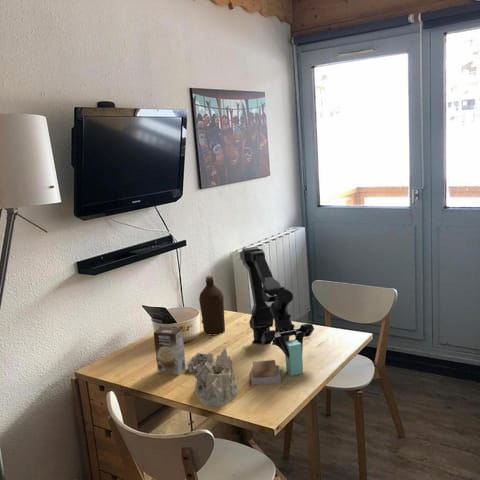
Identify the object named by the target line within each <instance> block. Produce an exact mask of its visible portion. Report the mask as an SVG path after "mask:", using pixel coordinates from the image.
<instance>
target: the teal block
mask: <svg viewBox="0 0 480 480" xmlns="http://www.w3.org/2000/svg"><path fill="white" fill-rule="evenodd" d="M285 343H286V346H287V349H288V352H289V358H288V357H287V356H286V355H285V354H284V355H285V369H286V372H287V373H288V374H289V375H290V377H293V376H296V375H302V374H304V365H303V350H302V346H301V343H300V342H299V341H297V340H295V339H291V340H289V341H286V342H285Z"/></svg>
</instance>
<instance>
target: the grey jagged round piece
mask: <svg viewBox="0 0 480 480" xmlns="http://www.w3.org/2000/svg"><path fill="white" fill-rule="evenodd" d="M207 360H208V361H207V362H206V363H205V364H204V366H203V368H202V369H201V370H200V371H199V372H197V373H196V375H195V379H196V381H195V384H196V385H195V388H194V393H195V395H196V397H197V398H198V399H199V400H200V402H201V404H202V405H204V406H207V407H211V406H212V407H216V408H217V407H223V406H225V405H227V404H228V403H230V402H232V401H233V400H234V399H236V397H237V396H238V393H239V388H238V384H237V382H236V377H235V374H234V372H233V371H234V369H233V361H232V359H231V355H230V356H228V352H227V347H223V350H222V351H221V352H220V354H217V355H216V358H215V360H216V361H215V360H214V354H213V352H212V351H208V352H207ZM214 361H215V362H214Z"/></svg>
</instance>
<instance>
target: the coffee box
mask: <svg viewBox="0 0 480 480" xmlns="http://www.w3.org/2000/svg"><path fill="white" fill-rule="evenodd" d="M153 339H154V348H155V357H156V367H157V374H161V373H163V374H164V375H171V374H173V375H174V376H180V375H181V374H182V373H183V372H184V371H185V368H186V369H187V366H186V357H185V348H184V347H185V346H184V337H183V328H181V327H171V326H170V327H168V326H160V327H159V328H158V329H156V330H155V331H154V332H153Z"/></svg>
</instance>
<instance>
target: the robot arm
mask: <svg viewBox="0 0 480 480" xmlns="http://www.w3.org/2000/svg"><path fill="white" fill-rule="evenodd" d="M265 254H266V253H265V251H264V249H263V248H259V247H258V246H252V247H251V246H250V247H246V248H244V247H243V248H242V249H241V251H240V252H239V258H240V259H241V261H242V264H243V265H242V266H244V267H245V269H247V272H248V278H249V284H250V289H251V294H252V300H253V306H252V308H251V312H250V313H251V317H250V318H249V327H250V328H251V329H252V330H253V331H252V332H253V340H252V341H251V343H252V344H257V345H258V344H260V345H263V346H267V345H272V346H277V347H278V348H279V349H280V350H281V351H282V353H283V354H284V355H286V356H287V357H288V358H289V352H288V349H287V346H286V343H285V342H286V341H290V337H291V336H294V337H295V339H294V340H297V341H299V342H300V343H301V346H302V351H303V343H304V338H306V337H310V336H312V333H313V332H314V330H315V328H314V325H313V324H312V323H311V322H309V323H304V324H301V325H300V327H299V328H295V327H296V326H295V325H294V324H293V322H292V320H291V318H292V317H291V314H290V313H289V312H288V309H289V307H290V306H291V304H292V301H293V299H294V294H293V292H291V291H290V290H288V289H285V286H281V284H280V282H279V281H278V280H276V279H275V278H274V276H273V274H272V272H271V269H270V266H269V264H268V261H267V260H266V255H265ZM267 303H271V304H270V306H269V305H268V304H267ZM273 327H274V329H272V330H271V328H273Z"/></svg>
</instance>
